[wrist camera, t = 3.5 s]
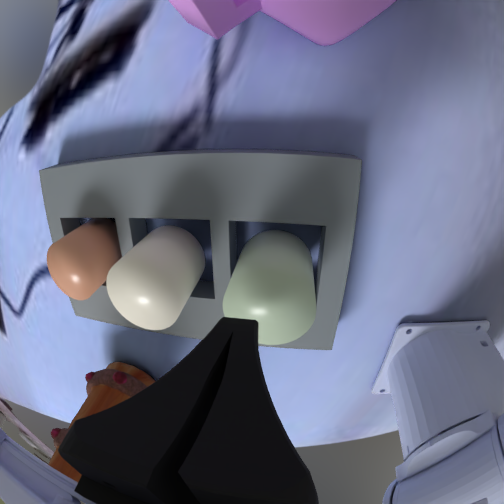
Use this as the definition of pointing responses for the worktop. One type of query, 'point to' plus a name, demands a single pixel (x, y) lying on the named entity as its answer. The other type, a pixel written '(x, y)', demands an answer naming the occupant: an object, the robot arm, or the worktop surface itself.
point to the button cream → (156, 277)
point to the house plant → (2, 420)
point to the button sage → (273, 287)
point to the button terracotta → (84, 257)
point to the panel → (214, 218)
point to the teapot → (285, 15)
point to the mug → (101, 402)
